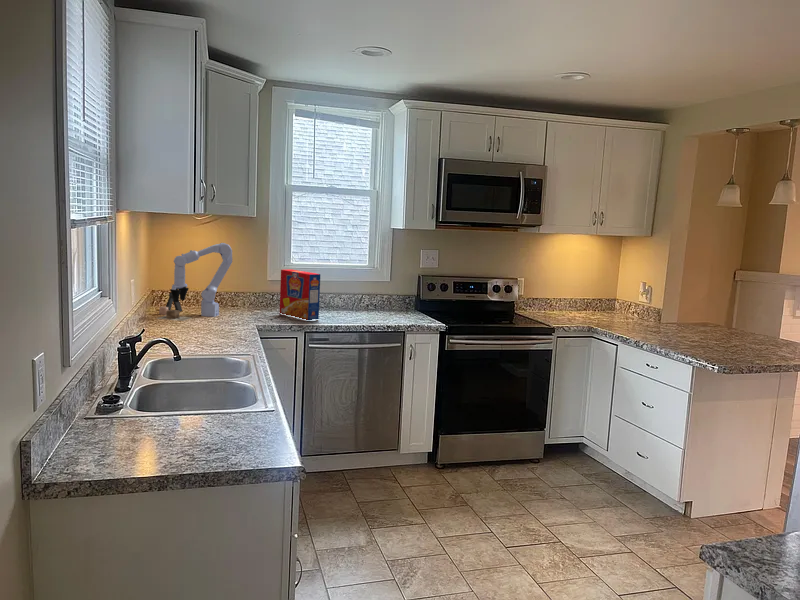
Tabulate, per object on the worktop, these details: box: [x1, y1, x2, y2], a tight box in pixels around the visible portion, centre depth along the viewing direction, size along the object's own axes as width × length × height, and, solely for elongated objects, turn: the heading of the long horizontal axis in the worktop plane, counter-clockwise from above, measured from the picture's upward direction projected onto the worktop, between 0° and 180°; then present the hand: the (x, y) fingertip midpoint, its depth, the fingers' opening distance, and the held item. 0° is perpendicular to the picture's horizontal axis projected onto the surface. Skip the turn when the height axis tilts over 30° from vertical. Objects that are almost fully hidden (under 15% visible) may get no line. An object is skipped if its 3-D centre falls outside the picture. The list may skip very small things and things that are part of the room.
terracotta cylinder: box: [158, 306, 168, 316], centre depth 344 cm, size 5×5×5 cm
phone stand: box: [165, 292, 183, 313], centre depth 358 cm, size 9×6×12 cm, turn 90°
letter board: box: [155, 315, 193, 322], centre depth 334 cm, size 16×12×1 cm
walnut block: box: [165, 309, 180, 319], centre depth 334 cm, size 5×5×4 cm
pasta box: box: [279, 269, 321, 320], centre depth 362 cm, size 28×8×28 cm, turn 47°
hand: (179, 301), depth 340 cm, fingers open, 7 cm apart
